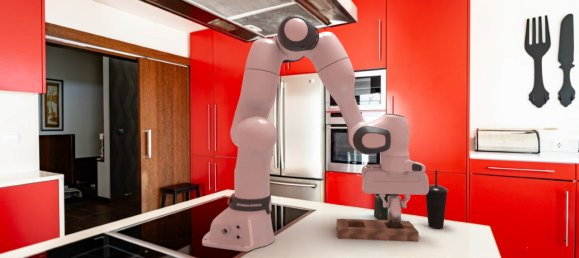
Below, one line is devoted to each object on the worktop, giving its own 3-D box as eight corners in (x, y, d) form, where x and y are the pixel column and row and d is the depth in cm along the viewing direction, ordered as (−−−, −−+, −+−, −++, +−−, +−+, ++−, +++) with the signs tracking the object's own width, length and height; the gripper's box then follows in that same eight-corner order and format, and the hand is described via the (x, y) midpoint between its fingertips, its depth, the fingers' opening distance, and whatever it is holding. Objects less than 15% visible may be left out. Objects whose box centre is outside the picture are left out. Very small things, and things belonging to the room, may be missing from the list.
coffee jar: (402, 224, 110) (402, 173, 109) (381, 225, 109) (381, 174, 108) (390, 216, 120) (390, 169, 119) (371, 217, 119) (371, 169, 118)
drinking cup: (421, 222, 112) (422, 168, 112) (444, 223, 111) (444, 169, 110) (426, 229, 105) (427, 172, 104) (450, 231, 103) (451, 172, 102)
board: (338, 241, 94) (338, 228, 94) (336, 230, 104) (336, 217, 104) (418, 244, 92) (418, 230, 92) (409, 232, 102) (409, 220, 102)
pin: (389, 226, 96) (389, 198, 96) (386, 222, 100) (386, 195, 99) (402, 227, 95) (402, 198, 95) (399, 222, 99) (399, 195, 99)
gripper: (362, 165, 95) (362, 209, 95) (431, 166, 93) (430, 211, 93) (360, 162, 101) (360, 204, 102) (424, 163, 99) (423, 205, 99)
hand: (394, 207), depth 97 cm, fingers closed on pin, 4 cm apart
